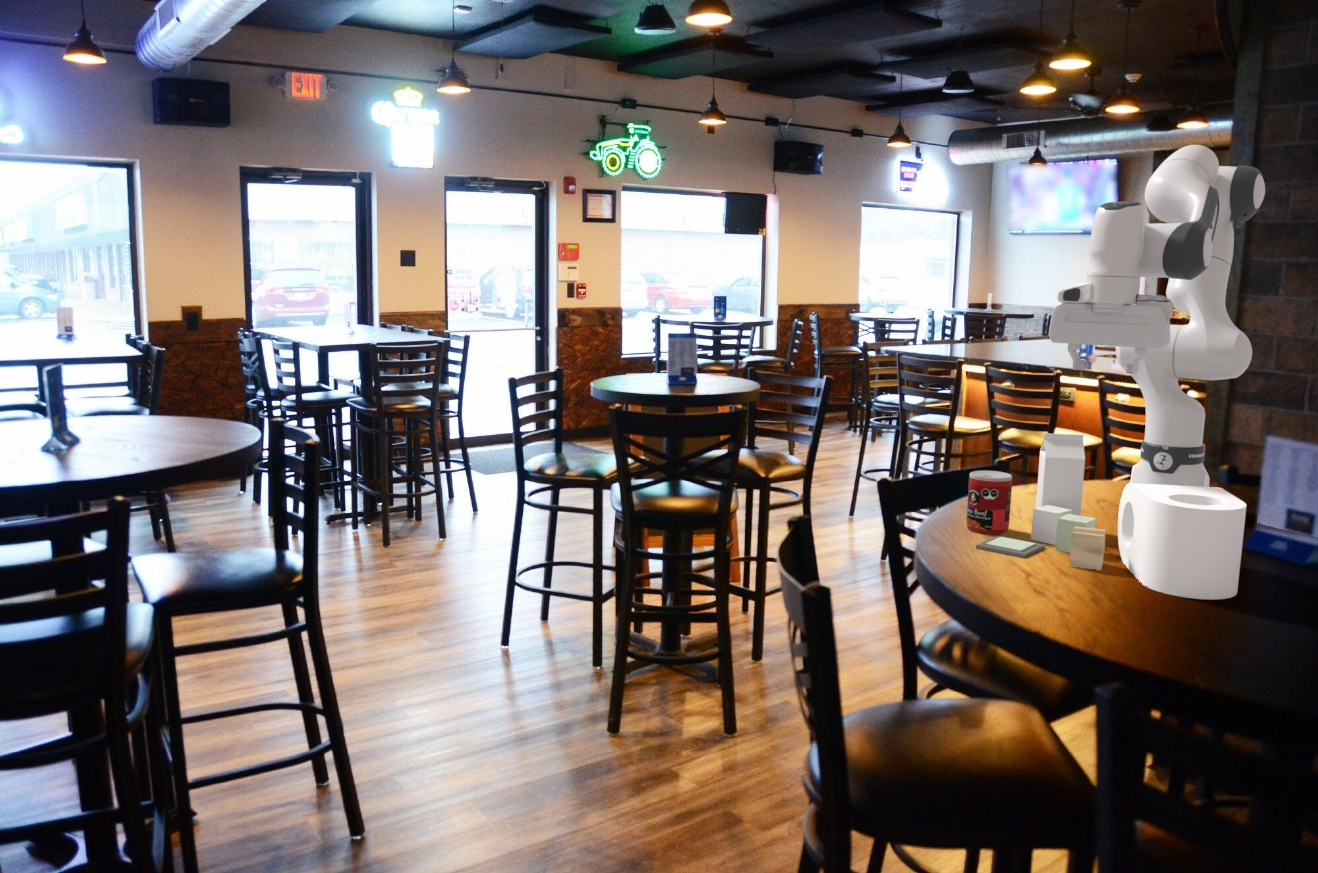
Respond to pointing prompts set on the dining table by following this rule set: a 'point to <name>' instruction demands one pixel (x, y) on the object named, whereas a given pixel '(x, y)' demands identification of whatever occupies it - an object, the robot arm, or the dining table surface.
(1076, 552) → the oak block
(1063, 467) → the milk carton
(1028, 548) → the swatch
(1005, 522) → the canned food
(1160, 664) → the dining table surface
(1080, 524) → the sage block
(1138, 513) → the white cross-bored block
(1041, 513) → the grey block
